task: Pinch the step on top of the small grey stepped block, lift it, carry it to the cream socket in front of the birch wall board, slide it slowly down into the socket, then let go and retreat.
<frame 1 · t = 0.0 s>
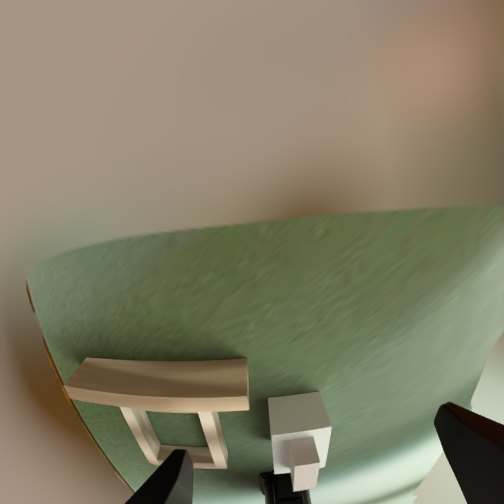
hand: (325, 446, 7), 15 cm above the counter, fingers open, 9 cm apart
grey stepped block: (293, 417, 25), on the counter
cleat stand: (178, 423, 25), on the counter
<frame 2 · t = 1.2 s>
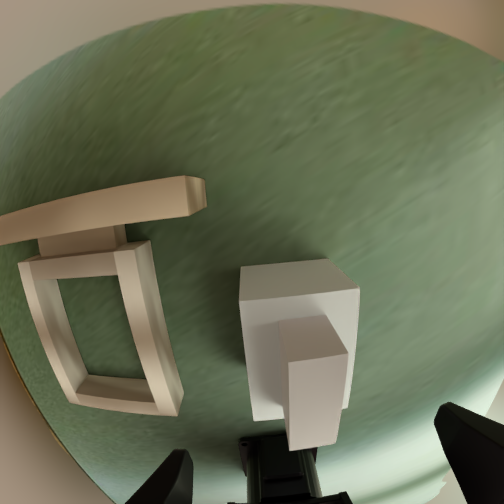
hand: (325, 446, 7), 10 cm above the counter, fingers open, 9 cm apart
grey stepped block: (287, 317, 17), on the counter
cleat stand: (106, 327, 17), on the counter
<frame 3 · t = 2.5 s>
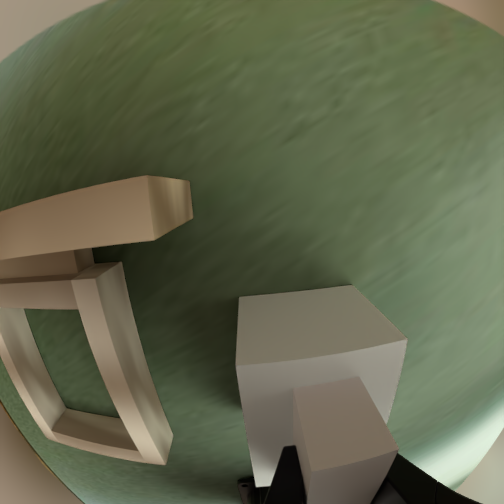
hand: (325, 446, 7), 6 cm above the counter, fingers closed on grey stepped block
grey stepped block: (299, 358, 13), on the counter, touching gripper
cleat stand: (78, 361, 13), on the counter
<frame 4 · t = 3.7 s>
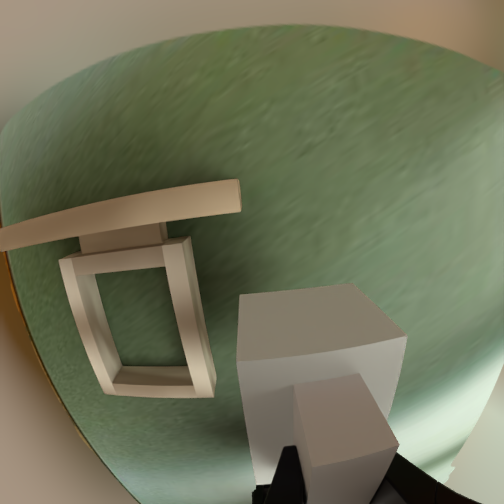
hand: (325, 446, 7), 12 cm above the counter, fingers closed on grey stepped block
grey stepped block: (299, 356, 13), point 6 cm above the counter, touching gripper
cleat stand: (144, 318, 19), on the counter
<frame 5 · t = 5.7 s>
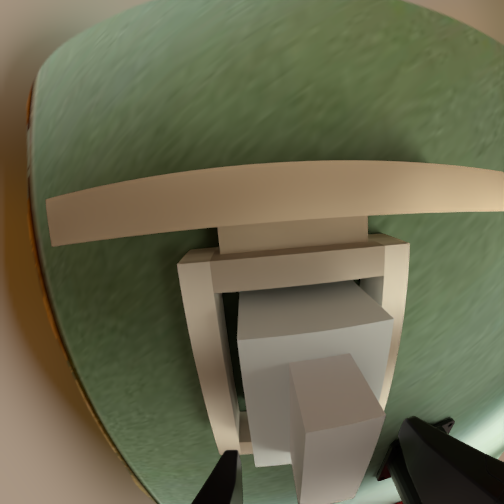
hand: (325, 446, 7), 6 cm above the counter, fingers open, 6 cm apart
grey stepped block: (296, 344, 14), resting in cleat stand
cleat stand: (295, 348, 14), on the counter
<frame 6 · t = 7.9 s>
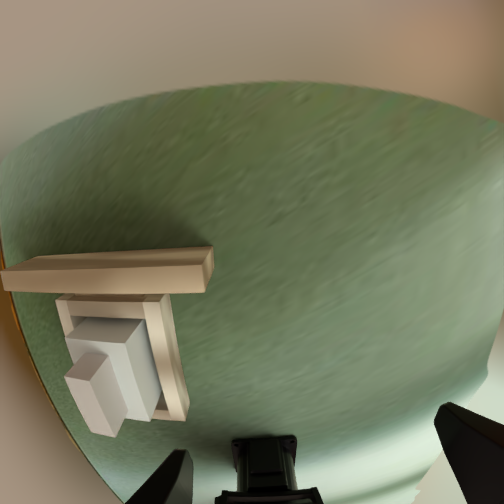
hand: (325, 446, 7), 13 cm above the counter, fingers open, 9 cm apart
grey stepped block: (129, 348, 21), resting in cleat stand
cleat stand: (129, 351, 21), on the counter
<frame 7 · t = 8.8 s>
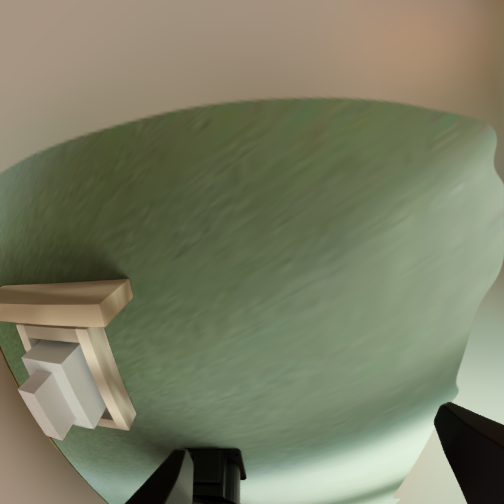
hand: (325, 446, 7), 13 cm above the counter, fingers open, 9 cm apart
grey stepped block: (80, 365, 21), resting in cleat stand
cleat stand: (80, 367, 21), on the counter
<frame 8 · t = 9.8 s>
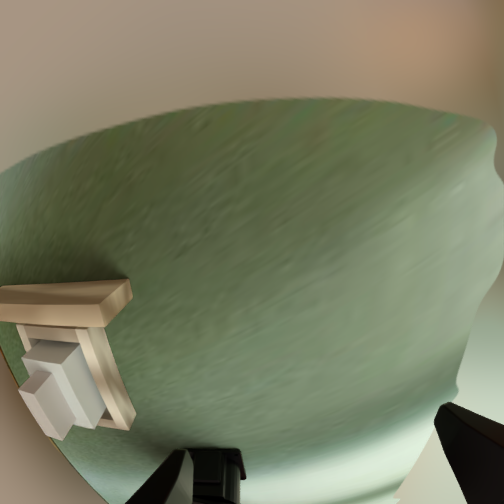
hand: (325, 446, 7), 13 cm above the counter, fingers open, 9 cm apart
grey stepped block: (80, 365, 21), resting in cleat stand
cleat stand: (80, 367, 21), on the counter
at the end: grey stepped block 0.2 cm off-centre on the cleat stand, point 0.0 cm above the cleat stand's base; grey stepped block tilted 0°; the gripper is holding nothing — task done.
